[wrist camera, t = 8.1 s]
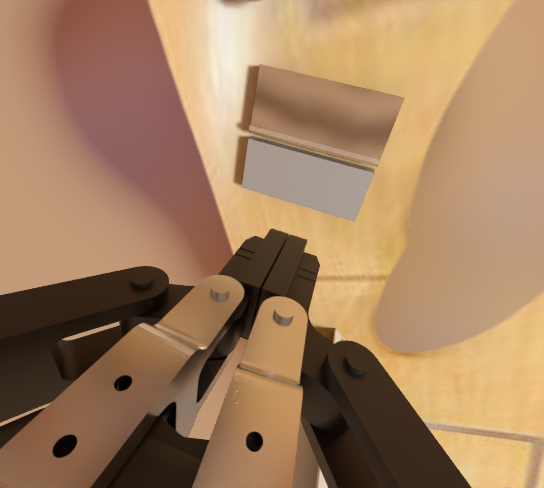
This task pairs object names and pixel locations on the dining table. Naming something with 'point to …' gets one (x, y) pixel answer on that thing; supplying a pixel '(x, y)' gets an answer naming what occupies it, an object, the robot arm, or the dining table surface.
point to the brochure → (308, 456)
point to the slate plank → (306, 178)
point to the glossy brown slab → (323, 114)
